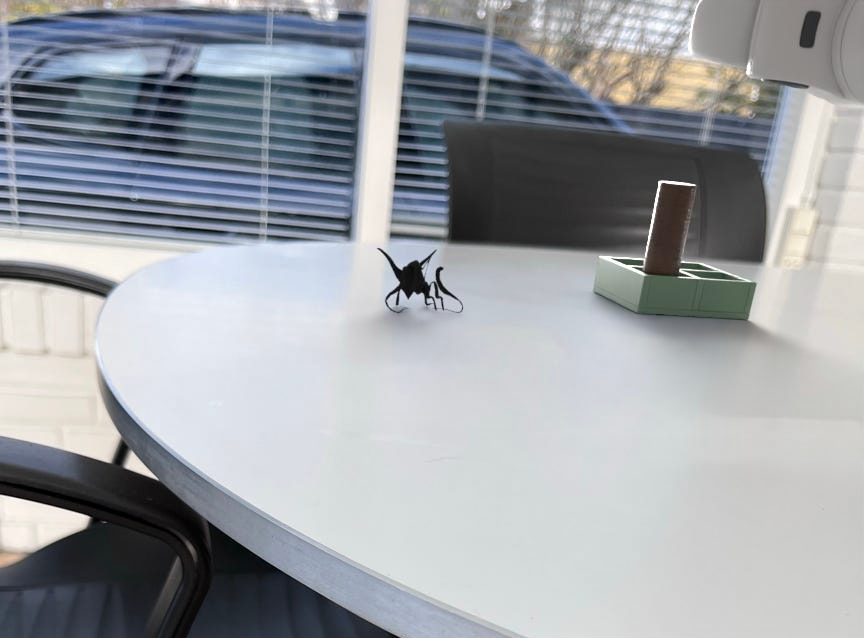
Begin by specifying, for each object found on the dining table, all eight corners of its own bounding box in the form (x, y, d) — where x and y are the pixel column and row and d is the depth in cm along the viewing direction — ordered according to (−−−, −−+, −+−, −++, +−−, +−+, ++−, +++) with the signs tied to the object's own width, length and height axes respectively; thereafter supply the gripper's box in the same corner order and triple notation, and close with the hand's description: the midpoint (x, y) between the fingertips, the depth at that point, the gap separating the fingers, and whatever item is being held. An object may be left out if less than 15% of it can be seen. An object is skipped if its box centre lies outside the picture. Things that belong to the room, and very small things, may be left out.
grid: (695, 297, 117) (702, 263, 115) (748, 319, 107) (757, 282, 105) (592, 290, 114) (598, 255, 113) (637, 313, 104) (644, 275, 102)
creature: (473, 328, 95) (435, 292, 101) (488, 270, 92) (447, 235, 97) (396, 329, 92) (360, 291, 97) (408, 269, 89) (370, 233, 94)
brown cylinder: (663, 298, 109) (687, 182, 104) (678, 305, 106) (703, 186, 101) (631, 296, 108) (653, 179, 103) (645, 303, 105) (669, 183, 100)
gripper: (1018, 2, 75) (899, 10, 87) (757, -31, 71) (669, -18, 83) (987, 102, 78) (876, 96, 90) (734, 75, 74) (653, 73, 85)
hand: (775, 41), depth 86 cm, fingers open, 8 cm apart
